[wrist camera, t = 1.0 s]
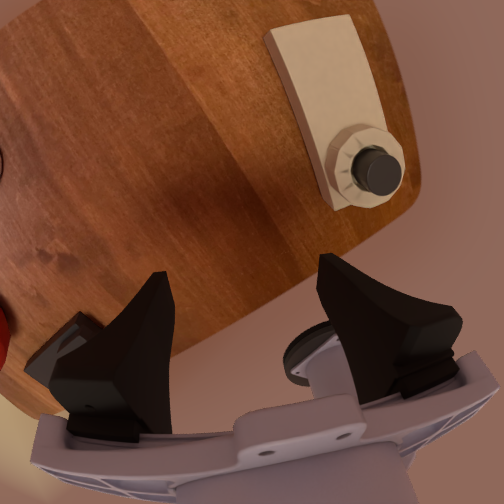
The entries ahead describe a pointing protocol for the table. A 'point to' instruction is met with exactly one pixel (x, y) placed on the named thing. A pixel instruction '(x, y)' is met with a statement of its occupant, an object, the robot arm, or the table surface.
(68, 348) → the power strip
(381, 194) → the dial knob
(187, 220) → the table surface
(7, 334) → the apple
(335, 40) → the dial base
